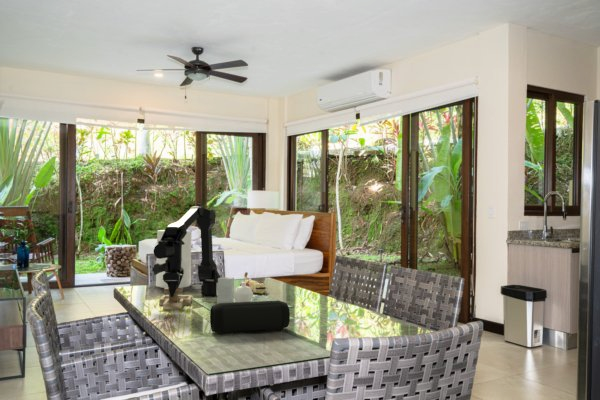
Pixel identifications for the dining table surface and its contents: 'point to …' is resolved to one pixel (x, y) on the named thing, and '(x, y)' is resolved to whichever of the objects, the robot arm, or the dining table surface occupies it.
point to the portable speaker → (249, 317)
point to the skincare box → (225, 290)
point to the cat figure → (255, 285)
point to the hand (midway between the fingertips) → (173, 294)
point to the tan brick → (174, 298)
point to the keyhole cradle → (182, 301)
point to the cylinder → (184, 263)
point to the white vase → (243, 293)
